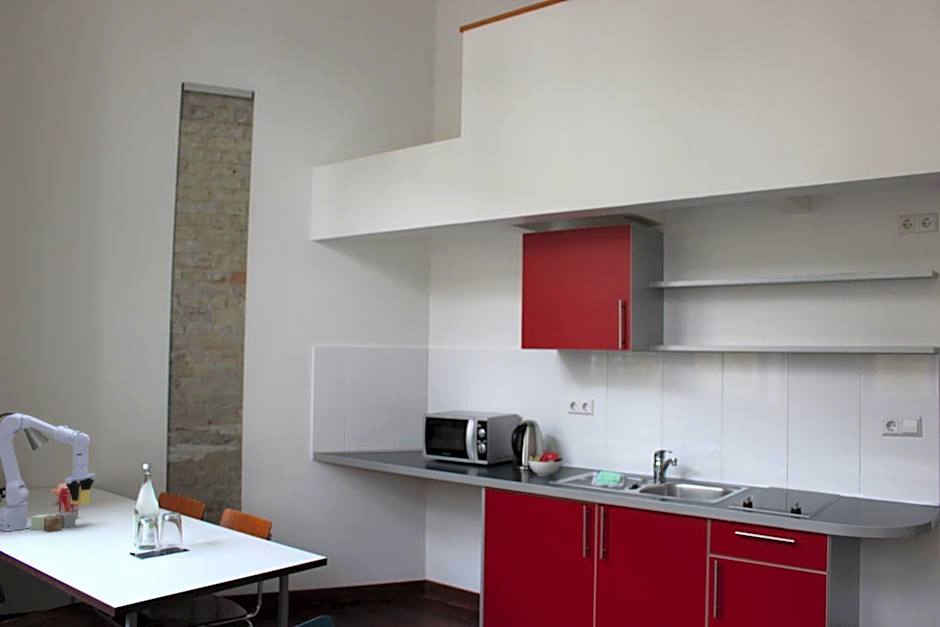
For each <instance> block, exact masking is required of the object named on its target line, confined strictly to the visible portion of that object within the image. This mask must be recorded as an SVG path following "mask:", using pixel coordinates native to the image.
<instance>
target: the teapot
mask: <svg viewBox="0 0 940 627" xmlns="http://www.w3.org/2000/svg"><path fill="white" fill-rule="evenodd" d="M62 486H66V483H65V482H63V483H59V484H58V486H57V488H56V487H54V488H52V491H51V492H52V493H54V494H55V495H56V501H58V502H59V491H60V489H61V488H60V487H62ZM80 489H81V486H80Z"/></svg>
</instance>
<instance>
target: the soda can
mask: <svg viewBox="0 0 940 627" xmlns="http://www.w3.org/2000/svg"><path fill="white" fill-rule="evenodd" d="M60 488H61V489H60V491H59V501H58V514H61V513H66V512H69V513H75V514H76V516H75V519H76V518H77V517H78V516H79V505H77V504H70V491H69V489H68V487H67V486H62V487H60Z"/></svg>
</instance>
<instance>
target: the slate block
mask: <svg viewBox="0 0 940 627" xmlns="http://www.w3.org/2000/svg"><path fill="white" fill-rule="evenodd" d="M55 516H60V517H61V518H62V524H61V529H69V528H72V527H76V518H75V516H76V514H75V513H69V512H66V513H61V514H59V513H56V514H55Z"/></svg>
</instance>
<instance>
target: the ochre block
mask: <svg viewBox="0 0 940 627" xmlns="http://www.w3.org/2000/svg"><path fill="white" fill-rule="evenodd" d="M90 502H91V489H90V490H85V489H79V496H78V501H72V498H71V494H70V504H77V505H78V506H80V505H85V504H89V503H90Z"/></svg>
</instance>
